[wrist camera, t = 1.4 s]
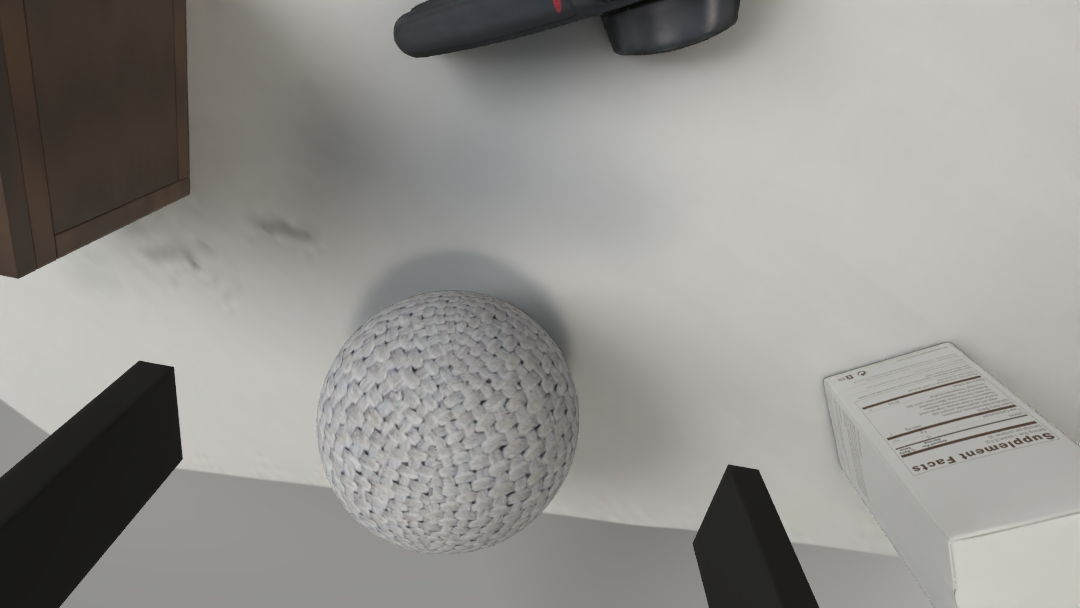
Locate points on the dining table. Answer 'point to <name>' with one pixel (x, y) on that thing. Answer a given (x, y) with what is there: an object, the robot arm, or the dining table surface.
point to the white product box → (962, 480)
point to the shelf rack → (87, 122)
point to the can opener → (562, 23)
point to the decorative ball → (447, 422)
